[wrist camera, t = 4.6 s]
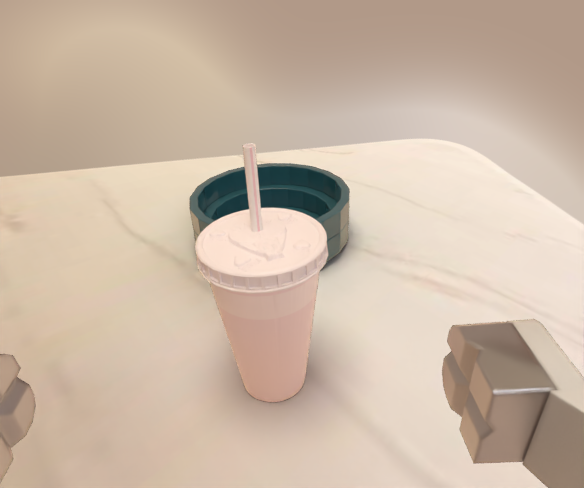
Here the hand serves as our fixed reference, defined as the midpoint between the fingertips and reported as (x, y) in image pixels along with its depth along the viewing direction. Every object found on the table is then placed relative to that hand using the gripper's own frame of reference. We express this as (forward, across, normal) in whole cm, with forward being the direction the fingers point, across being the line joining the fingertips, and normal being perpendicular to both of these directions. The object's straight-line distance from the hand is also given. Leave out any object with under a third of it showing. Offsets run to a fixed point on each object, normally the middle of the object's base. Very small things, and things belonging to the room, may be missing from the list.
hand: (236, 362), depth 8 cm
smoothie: (+12, 0, +14) cm, 19 cm away
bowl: (+28, 0, +14) cm, 32 cm away
